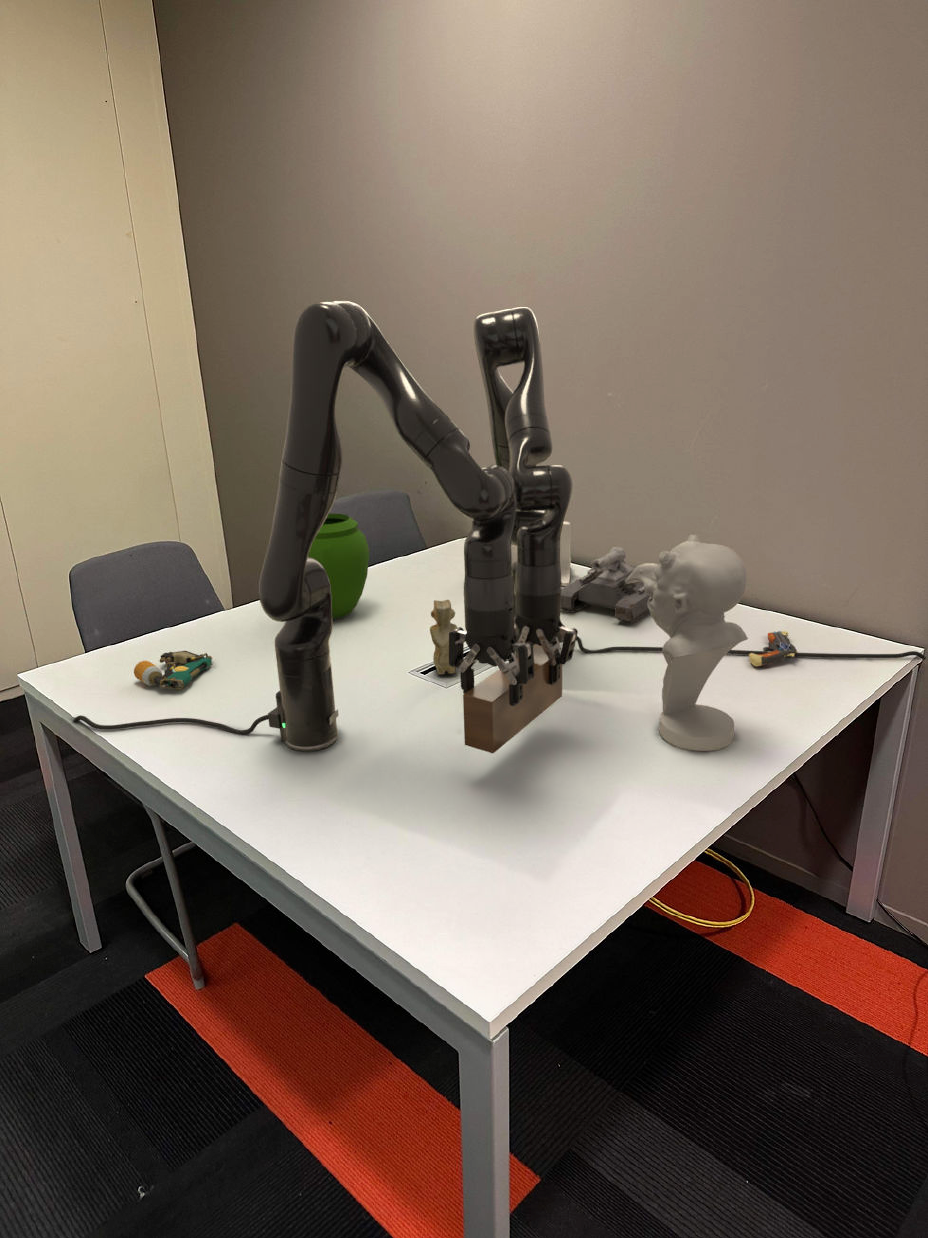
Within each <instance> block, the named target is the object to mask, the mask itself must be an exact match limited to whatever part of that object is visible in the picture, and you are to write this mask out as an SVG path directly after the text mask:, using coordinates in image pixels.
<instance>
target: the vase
mask: <svg viewBox="0 0 928 1238" xmlns="http://www.w3.org/2000/svg"><path fill="white" fill-rule="evenodd" d="M358 524H359V523H358V521H356V520H355V519H353V518H352V517H350V516H349V515H347V514H344V513H335V512H334V513H333V512H330V513H329V514H328V516H327V518H326V520H325V522H324V523H323V525H322V527H321V528H320V530H319V532H318V534H317V535H316V537H315V539H314V541H313V543H312V545H311V548H310V551H309V554H308V557H311V558H313V559H315V560H317V561H318V562H319V563H320V564H321V565H322V566H323V567H324V569H325V571H326V573H327V575H328V578H329V581H330V587H331V598H332V620H336V619H341V618H345V617H347V616H349V615H350V614H351V613H352V612H353V611H354V610H355V608H356V607H357V605H358V604H359V601H360V599H361V597H362V595H363V592H364V588H365V586H366V581H367V578H368V570H369V561H370V560H369V559H370V548H369V545H368V541H367V537H366V535H365V534H364V533H363V532H362V531H361V530H360V529H359V527H358Z"/></svg>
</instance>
